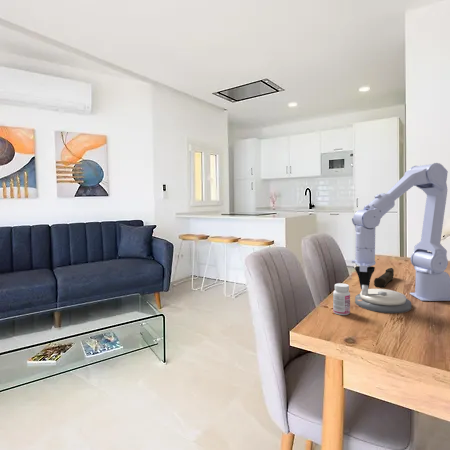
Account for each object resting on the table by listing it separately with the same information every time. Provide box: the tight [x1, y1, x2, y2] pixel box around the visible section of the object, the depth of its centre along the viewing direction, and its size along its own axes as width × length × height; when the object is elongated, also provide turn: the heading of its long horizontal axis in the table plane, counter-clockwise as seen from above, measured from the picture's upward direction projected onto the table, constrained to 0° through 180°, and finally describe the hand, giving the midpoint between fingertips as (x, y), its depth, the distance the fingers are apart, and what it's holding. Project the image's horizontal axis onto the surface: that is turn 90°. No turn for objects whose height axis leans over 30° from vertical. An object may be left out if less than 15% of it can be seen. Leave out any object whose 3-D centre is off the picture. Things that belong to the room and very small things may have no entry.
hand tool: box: [373, 267, 395, 289], centre depth 127 cm, size 19×4×5 cm, turn 137°
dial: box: [359, 285, 407, 306], centre depth 102 cm, size 13×13×4 cm
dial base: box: [354, 293, 412, 314], centre depth 102 cm, size 16×16×2 cm
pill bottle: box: [332, 282, 351, 316], centre depth 95 cm, size 5×5×8 cm
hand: (364, 289), depth 104 cm, fingers closed
